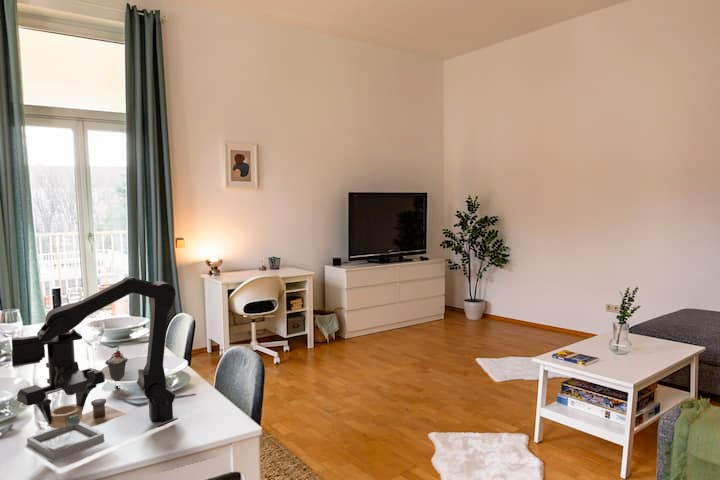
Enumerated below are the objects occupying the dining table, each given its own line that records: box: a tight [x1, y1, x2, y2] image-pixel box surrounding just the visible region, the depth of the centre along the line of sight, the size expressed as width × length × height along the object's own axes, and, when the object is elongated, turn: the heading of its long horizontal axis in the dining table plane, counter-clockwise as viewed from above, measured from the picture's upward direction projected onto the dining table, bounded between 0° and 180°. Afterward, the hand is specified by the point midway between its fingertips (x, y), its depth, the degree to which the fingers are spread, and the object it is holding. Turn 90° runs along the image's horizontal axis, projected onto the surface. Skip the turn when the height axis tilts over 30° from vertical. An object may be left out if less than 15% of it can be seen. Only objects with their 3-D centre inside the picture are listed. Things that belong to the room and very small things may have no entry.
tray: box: [26, 422, 105, 461], centre depth 127 cm, size 14×12×2 cm
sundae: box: [104, 346, 129, 390], centre depth 163 cm, size 7×7×15 cm
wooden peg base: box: [79, 398, 127, 428], centre depth 143 cm, size 10×10×5 cm
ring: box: [47, 403, 83, 429], centre depth 127 cm, size 7×9×3 cm
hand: (65, 418), depth 127 cm, fingers closed on ring, 7 cm apart
